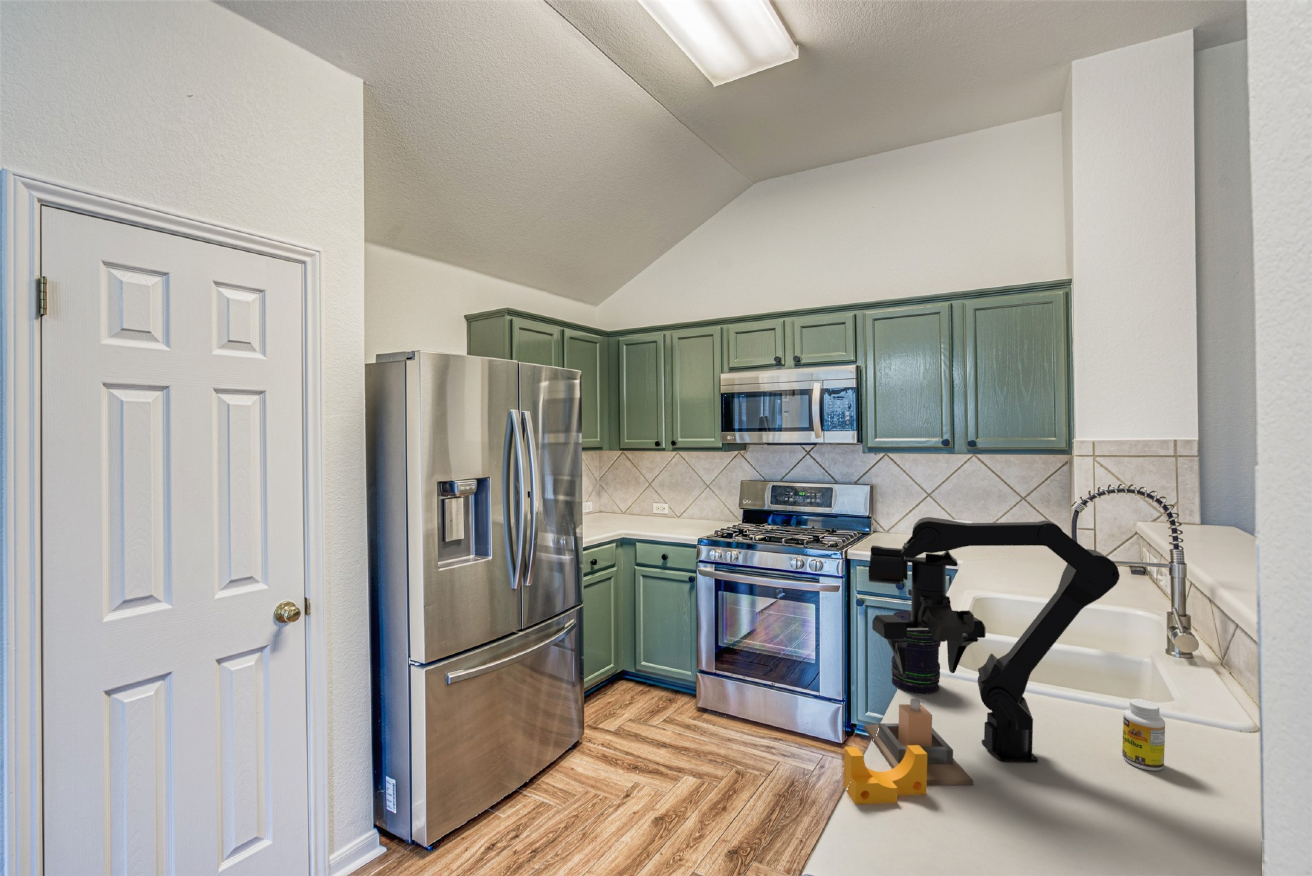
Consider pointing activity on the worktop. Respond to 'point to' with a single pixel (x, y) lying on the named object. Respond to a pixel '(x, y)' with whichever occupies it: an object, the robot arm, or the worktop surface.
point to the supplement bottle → (1143, 735)
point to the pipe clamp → (885, 777)
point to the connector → (915, 724)
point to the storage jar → (918, 662)
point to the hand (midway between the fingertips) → (927, 672)
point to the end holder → (938, 756)
